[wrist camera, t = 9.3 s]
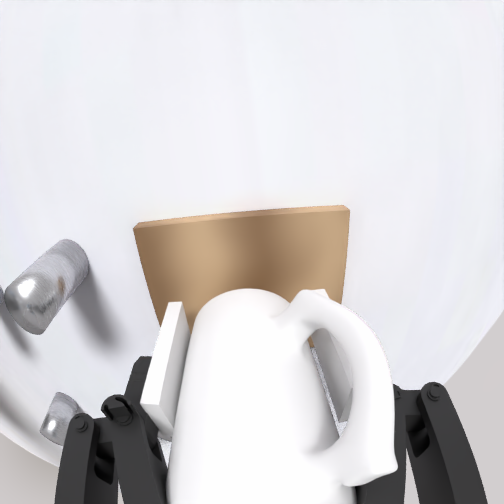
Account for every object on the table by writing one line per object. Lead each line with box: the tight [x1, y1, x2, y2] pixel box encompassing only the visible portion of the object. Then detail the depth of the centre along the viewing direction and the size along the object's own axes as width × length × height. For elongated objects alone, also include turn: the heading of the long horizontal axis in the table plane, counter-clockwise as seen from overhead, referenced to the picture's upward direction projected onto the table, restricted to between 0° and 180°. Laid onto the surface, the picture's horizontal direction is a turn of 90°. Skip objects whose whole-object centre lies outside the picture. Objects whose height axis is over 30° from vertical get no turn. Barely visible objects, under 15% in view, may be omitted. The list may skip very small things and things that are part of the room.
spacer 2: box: [40, 392, 78, 446], centre depth 20 cm, size 3×3×6 cm
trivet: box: [133, 205, 350, 348], centre depth 17 cm, size 12×10×1 cm
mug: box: [166, 289, 398, 504], centre depth 10 cm, size 10×7×12 cm, turn 150°
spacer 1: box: [4, 239, 89, 335], centre depth 13 cm, size 3×3×6 cm
